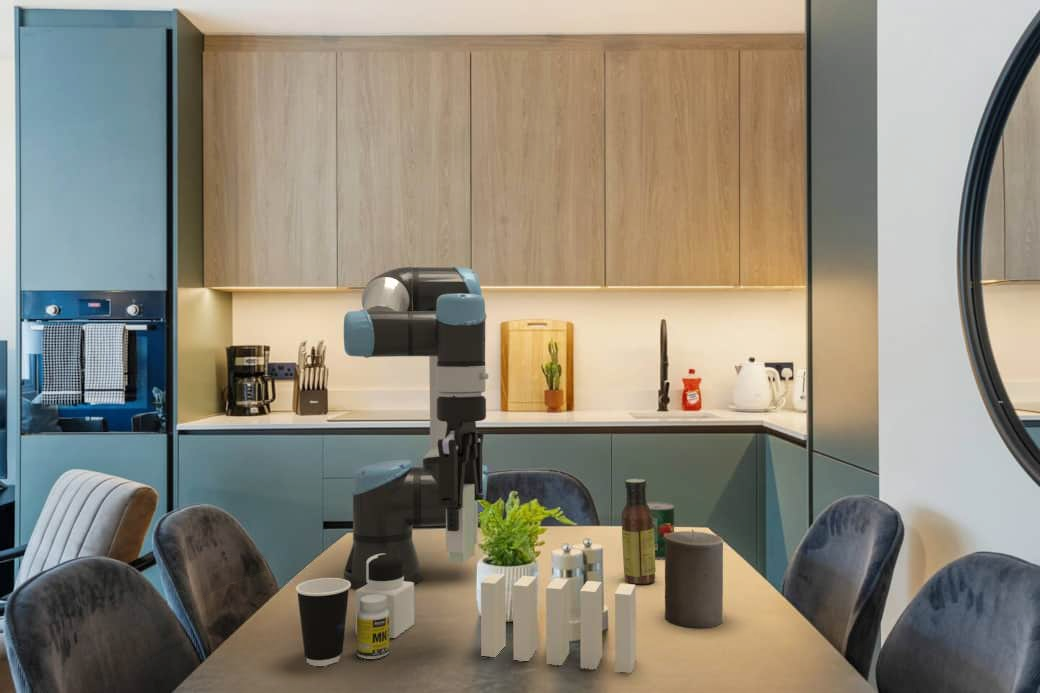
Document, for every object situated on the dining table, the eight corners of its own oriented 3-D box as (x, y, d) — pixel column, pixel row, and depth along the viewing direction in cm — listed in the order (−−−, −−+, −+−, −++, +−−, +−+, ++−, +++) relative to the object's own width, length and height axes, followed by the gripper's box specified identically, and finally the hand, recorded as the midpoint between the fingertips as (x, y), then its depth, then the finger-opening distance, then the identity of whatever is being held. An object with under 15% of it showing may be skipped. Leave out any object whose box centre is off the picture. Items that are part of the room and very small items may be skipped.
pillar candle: (659, 624, 128) (660, 533, 128) (669, 606, 137) (669, 521, 137) (720, 632, 124) (720, 538, 124) (726, 612, 134) (726, 525, 134)
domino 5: (615, 672, 109) (614, 593, 109) (621, 658, 114) (620, 583, 114) (631, 673, 108) (630, 594, 108) (636, 660, 113) (635, 584, 113)
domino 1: (481, 656, 115) (480, 582, 115) (492, 644, 119) (491, 573, 119) (495, 658, 114) (494, 583, 114) (505, 646, 119) (505, 574, 119)
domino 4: (580, 668, 110) (580, 590, 110) (587, 655, 115) (587, 580, 115) (595, 669, 110) (595, 592, 110) (602, 656, 114) (601, 582, 115)
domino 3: (546, 664, 112) (546, 587, 112) (555, 651, 116) (554, 578, 117) (561, 665, 111) (560, 589, 111) (569, 653, 116) (568, 579, 116)
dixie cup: (359, 662, 113) (359, 586, 113) (306, 675, 108) (306, 597, 108) (339, 646, 119) (338, 574, 119) (288, 657, 115) (287, 583, 115)
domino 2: (513, 660, 113) (513, 585, 113) (523, 648, 118) (522, 575, 118) (528, 662, 112) (527, 586, 113) (537, 649, 117) (536, 576, 117)
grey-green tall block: (449, 562, 116) (449, 488, 116) (461, 553, 121) (461, 483, 121) (463, 563, 115) (463, 489, 116) (474, 554, 120) (474, 484, 120)
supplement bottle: (374, 663, 112) (373, 605, 113) (350, 656, 115) (350, 599, 115) (396, 652, 117) (395, 596, 117) (372, 646, 119) (372, 591, 119)
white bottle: (415, 624, 128) (414, 552, 129) (394, 639, 122) (394, 563, 122) (377, 620, 131) (376, 549, 131) (354, 634, 124) (354, 559, 124)
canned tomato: (638, 549, 177) (638, 501, 177) (673, 550, 176) (673, 502, 176) (638, 559, 169) (638, 508, 169) (675, 560, 168) (675, 509, 168)
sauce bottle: (654, 576, 155) (653, 477, 155) (656, 586, 149) (656, 482, 149) (621, 576, 156) (620, 477, 156) (622, 585, 150) (621, 482, 150)
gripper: (463, 398, 109) (464, 564, 108) (502, 392, 126) (503, 535, 126) (414, 397, 111) (415, 560, 111) (459, 391, 128) (460, 532, 128)
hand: (462, 546), depth 118 cm, fingers closed on grey-green tall block, 5 cm apart
